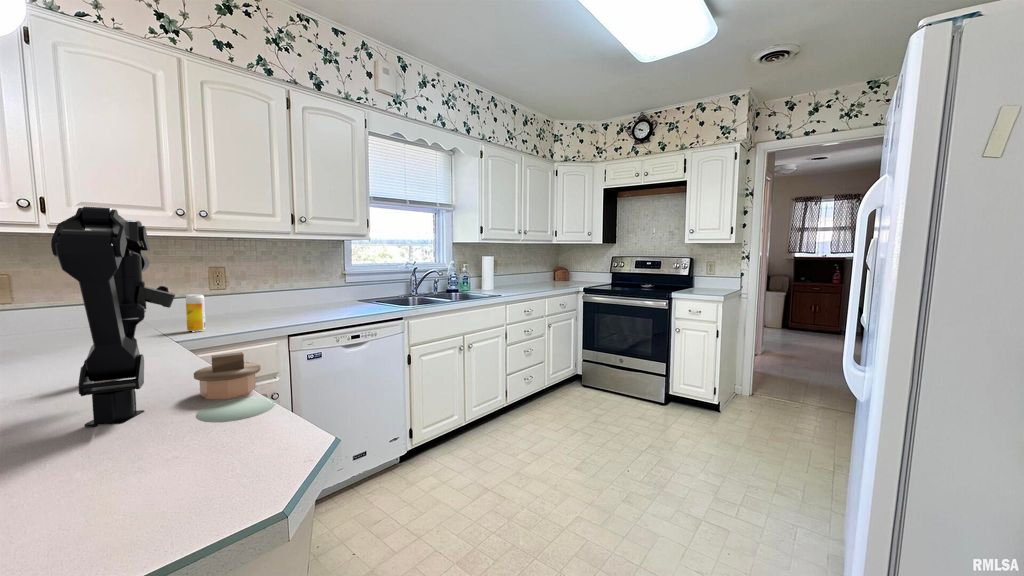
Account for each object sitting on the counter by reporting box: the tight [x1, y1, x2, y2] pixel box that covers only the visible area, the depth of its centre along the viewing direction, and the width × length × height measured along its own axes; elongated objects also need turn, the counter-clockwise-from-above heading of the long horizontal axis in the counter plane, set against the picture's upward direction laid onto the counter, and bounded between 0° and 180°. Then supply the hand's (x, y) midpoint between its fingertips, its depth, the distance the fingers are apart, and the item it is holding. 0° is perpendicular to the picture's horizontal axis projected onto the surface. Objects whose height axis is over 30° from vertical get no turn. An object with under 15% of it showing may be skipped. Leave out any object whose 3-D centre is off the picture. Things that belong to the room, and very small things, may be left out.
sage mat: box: [195, 396, 276, 423], centre depth 88 cm, size 14×14×1 cm
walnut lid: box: [193, 352, 262, 382], centre depth 98 cm, size 13×13×4 cm
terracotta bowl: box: [199, 373, 257, 400], centre depth 98 cm, size 10×10×5 cm
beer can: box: [185, 293, 207, 332], centre depth 170 cm, size 6×6×15 cm
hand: (129, 345), depth 94 cm, fingers open, 9 cm apart
